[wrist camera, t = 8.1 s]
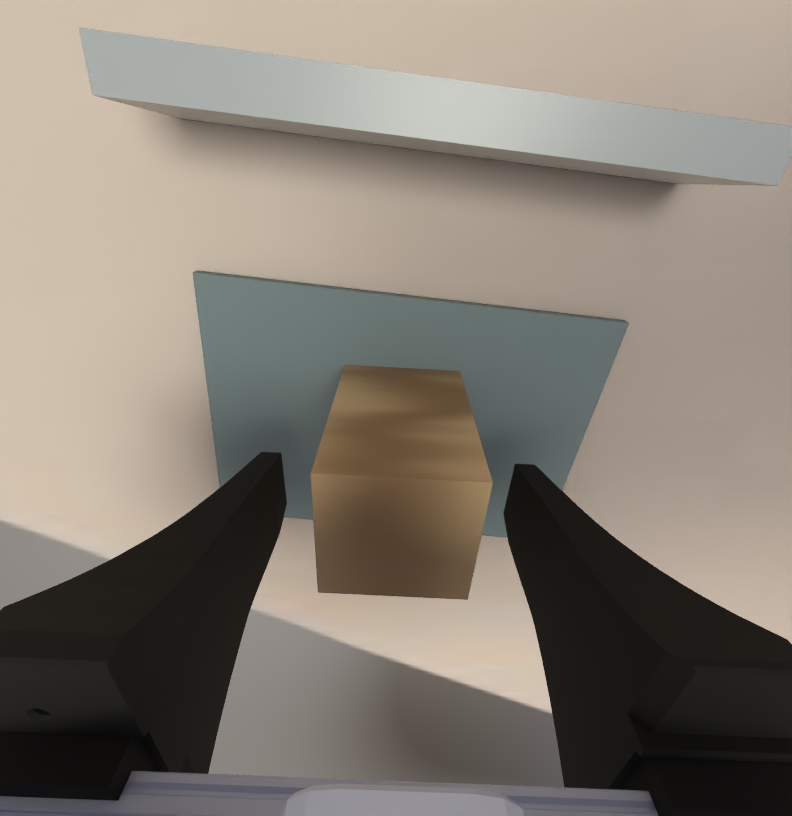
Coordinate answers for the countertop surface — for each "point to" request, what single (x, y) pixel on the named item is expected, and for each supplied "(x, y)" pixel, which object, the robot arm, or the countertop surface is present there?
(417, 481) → the oak block
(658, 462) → the countertop surface
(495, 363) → the mat
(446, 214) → the countertop surface
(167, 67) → the low wall
